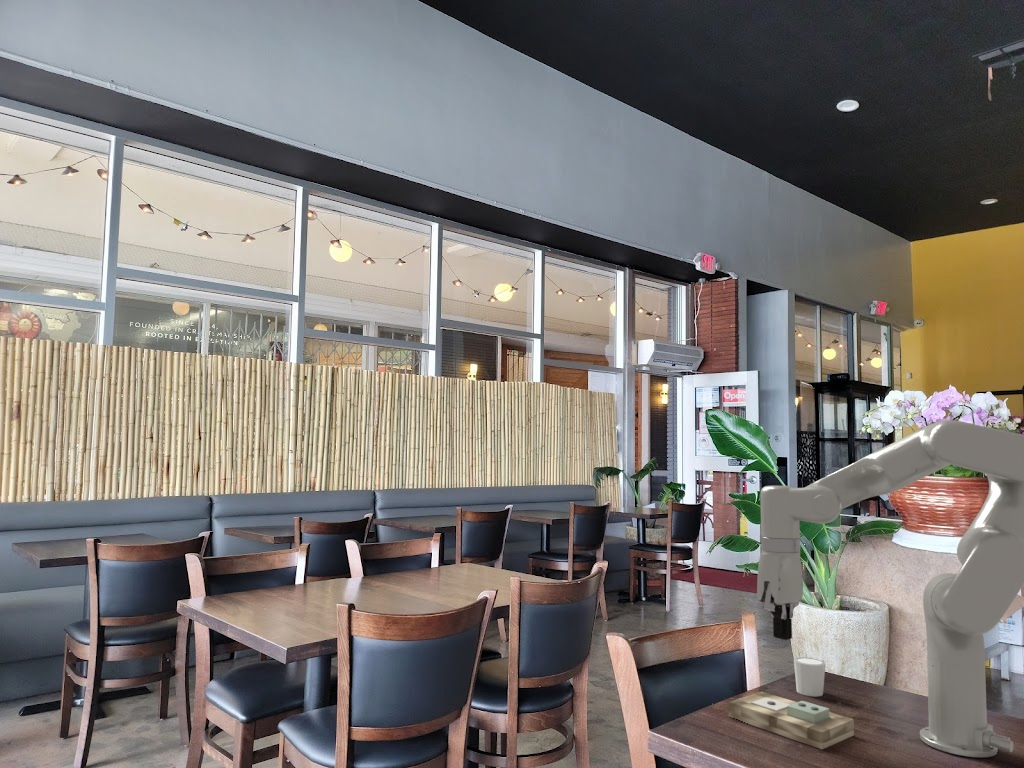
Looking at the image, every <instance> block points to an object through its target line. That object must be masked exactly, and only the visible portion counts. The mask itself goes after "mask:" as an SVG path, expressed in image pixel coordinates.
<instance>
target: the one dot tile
mask: <svg viewBox="0 0 1024 768" xmlns="http://www.w3.org/2000/svg"><path fill="white" fill-rule="evenodd" d="M751 704H753V705H756V706H759V707H763V708H766V709H769V710H772V711H775V712H778V711H781V710H784V709H787V706H788V705H790V704H787V703H783V702H780V701H777V700H774V699H770V698H767V697H766V698H763V699H760V700H757V701H754V702H751Z"/></svg>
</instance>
